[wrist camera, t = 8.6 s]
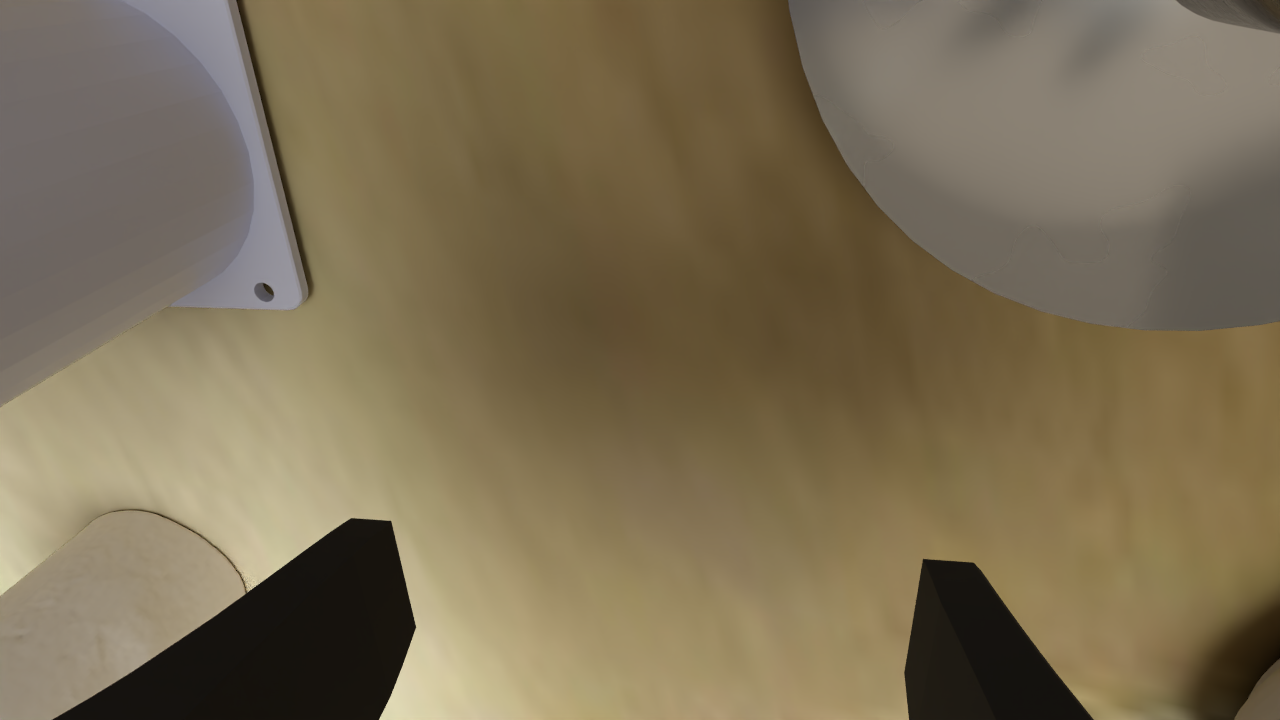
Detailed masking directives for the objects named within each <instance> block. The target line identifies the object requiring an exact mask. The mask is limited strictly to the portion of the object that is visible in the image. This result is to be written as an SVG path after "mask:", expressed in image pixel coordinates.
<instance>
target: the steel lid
mask: <svg viewBox="0 0 1280 720" xmlns="http://www.w3.org/2000/svg"><path fill="white" fill-rule="evenodd" d="M788 3H789V10H790V15H791V19H792V23H793V28H794V32H795V36H796V41H797V45H798V49H799V54H800V58H801V62H802V67H803V70H804V72H805V75H806V78H807V80H808V83H809V85H810V88H811V91H812V93H813V96H814V99H815V101H816V104H817V107H818V109H819V112H820V115H821V117H822V120H823V122H824V123H825V125H826V127H827V129H828V131H829V133H830V134H831V136H832V138H833V140H834V142H835V144H836V145H837V147H838V149H839V151H840V153H841V155H842V156H843V158H844V160H845V162H846V164H847V166H848V167H849V168H850V170H851V171H852V172H853V174H854V175H855V176H856V178H857V179H858V180H859V182H860V183H861V184H862V186H863V187H864V188H865V190H866V191H867V192H868V194H869V195H870V196H871V198H872V199H873V200H874V202H875V203H876V204H877V206H878V207H879V208H880V209H881V210H882V211H883V212H884V213H885V214H886V215H887V216H888V217H889V218H890V219H891V220H892V221H893V222H894V223H895V224H896V225H897V226H898V227H899V228H900V229H901V230H902V231H903V232H904V233H905V234H906V235H907V236H908V237H909V238H910V239H911V240H912V241H914V242H915V243H916V244H918V245H919V246H920V247H922V248H923V249H924V250H926V251H927V252H928V253H930V254H931V255H932V256H934V257H935V258H936V259H938V260H939V261H940V262H942V263H943V264H944V265H946V266H947V267H948V268H950V269H951V270H953V271H955V272H956V273H958V274H960V275H962V276H964V277H965V278H967V279H969V280H971V281H973V282H975V283H976V284H978V285H980V286H982V287H984V288H986V289H987V290H989V291H991V292H993V293H995V294H997V295H1000V296H1002V297H1005V298H1008V299H1010V300H1013V301H1015V302H1018V303H1021V304H1023V305H1026V306H1028V307H1031V308H1034V309H1036V310H1039V311H1042V312H1046V313H1050V314H1054V315H1058V316H1062V317H1066V318H1070V319H1074V320H1078V321H1082V322H1087V323H1091V324H1098V325H1106V326H1115V327H1123V328H1131V329H1139V330H1188V331H1202V330H1212V329H1223V328H1233V327H1243V326H1254V325H1262V324H1267V323H1272V322H1277V321H1280V0H788Z"/></svg>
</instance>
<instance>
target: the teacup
mask: <svg viewBox="0 0 1280 720" xmlns="http://www.w3.org/2000/svg"><path fill="white" fill-rule="evenodd" d="M1234 720H1280V659H1278V660H1277V661H1276V662H1275V663H1274V664H1273V665H1272V666H1271V667H1270V668H1269V669H1268V670H1267V671H1266V672H1265V673H1264V674H1263V676H1262V677H1261V678H1260V680H1259V681H1258V682H1257V684H1256V685H1255V687H1254V689H1253V690H1252V692H1251V694H1250V696H1249V697H1248V700H1247V701H1246V702H1245V703H1244V705H1243V706H1242V707H1241V708H1240V710H1239V711H1238V713H1237V715H1236V717H1235V719H1234Z"/></svg>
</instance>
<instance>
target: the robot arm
mask: <svg viewBox="0 0 1280 720" xmlns="http://www.w3.org/2000/svg"><path fill="white" fill-rule="evenodd" d="M263 283H265V284H267V285H269V286H270V287H271V288H272V290H273V292H274V295H270V294H269V293H268V292H267V291H266V290H265V288H264V287H263ZM307 297H308V286H307V282H306V278H305V274H304V270H303V266H302V262H301V258H300V254H299V250H298V246H297V242H296V238H295V234H294V230H293V226H292V222H291V218H290V214H289V210H288V206H287V202H286V198H285V194H284V190H283V186H282V182H281V178H280V174H279V170H278V166H277V162H276V158H275V154H274V150H273V146H272V142H271V138H270V134H269V130H268V126H267V122H266V118H265V114H264V110H263V106H262V102H261V98H260V94H259V90H258V86H257V82H256V78H255V74H254V70H253V66H252V62H251V58H250V54H249V50H248V46H247V42H246V38H245V34H244V30H243V26H242V22H241V18H240V14H239V10H238V6H237V2H236V0H0V407H1V406H3V405H4V404H6V403H8V402H9V401H11V400H13V399H14V398H16V397H18V396H19V395H21V394H23V393H24V392H26V391H28V390H29V389H31V388H33V387H34V386H36V385H38V384H39V383H41V382H43V381H44V380H46V379H48V378H49V377H51V376H53V375H54V374H56V373H58V372H59V371H61V370H63V369H64V368H66V367H68V366H69V365H71V364H73V363H74V362H76V361H78V360H79V359H81V358H83V357H84V356H86V355H88V354H89V353H91V352H93V351H94V350H96V349H98V348H99V347H101V346H103V345H104V344H106V343H108V342H109V341H111V340H113V339H114V338H116V337H118V336H119V335H121V334H123V333H124V332H126V331H128V330H129V329H131V328H133V327H134V326H136V325H137V324H139V323H141V322H142V321H144V320H146V319H147V318H149V317H151V316H152V315H154V314H156V313H157V312H159V311H161V310H162V309H164V308H166V307H198V308H230V309H262V310H293V309H296V308H297V307H298V306H300V305H301V304H302V303H303V302H305V301H306V299H307ZM415 629H416V625H415V621H414V617H413V612H412V608H411V604H410V600H409V595H408V591H407V587H406V582H405V578H404V574H403V570H402V565H401V561H400V557H399V552H398V548H397V544H396V540H395V535H394V531H393V527H392V522H391V521H383V520H369V519H355V518H351V519H349V520H348V521H346V522H345V523H343V524H342V525H340V526H339V527H337V528H336V529H334V530H333V531H331V532H330V533H329V534H327V535H326V536H324V537H323V538H322V539H320V540H319V541H317V542H316V543H315V544H313V545H312V546H311V547H309V548H308V549H306V550H305V551H304V552H302V553H301V554H300V555H298V556H297V557H296V558H294V559H293V560H291V561H290V562H289V563H287V564H286V565H285V566H283V567H282V568H281V569H279V570H278V571H276V572H275V573H274V574H272V575H271V576H270V577H268V578H267V579H266V580H264V581H263V582H261V583H260V584H259V585H257V586H256V587H254V588H253V589H252V590H250V591H249V592H248V593H246V594H245V595H243V596H242V597H241V598H239V599H238V600H236V601H235V602H234V603H232V604H231V605H230V606H228V607H227V608H225V609H224V610H223V611H221V612H220V613H218V614H217V615H216V616H214V617H213V618H211V619H210V620H208V621H207V622H205V623H204V624H202V625H201V626H199V627H198V628H197V629H195V630H194V631H192V632H191V633H189V634H188V635H186V636H185V637H183V638H182V639H180V640H179V641H177V642H176V643H174V644H173V645H171V646H170V647H168V648H167V649H165V650H164V651H162V652H161V653H159V654H158V655H156V656H155V657H153V658H152V659H150V660H149V661H147V662H146V663H144V664H143V665H141V666H140V667H138V668H137V669H135V670H134V671H132V672H131V673H129V674H128V675H126V676H124V677H123V678H121V679H120V680H118V681H116V682H115V683H113V684H112V685H110V686H108V687H107V688H105V689H103V690H102V691H100V692H98V693H97V694H95V695H94V696H92V697H90V698H89V699H87V700H85V701H83V702H82V703H80V704H78V705H76V706H75V707H73V708H71V709H70V710H68V711H66V712H64V713H63V714H61V715H59V716H58V717H56V718H54V719H52V720H379V718H380V716H381V714H382V712H383V710H384V708H385V706H386V704H387V702H388V700H389V698H390V696H391V694H392V691H393V689H394V686H395V684H396V681H397V678H398V676H399V673H400V671H401V668H402V666H403V663H404V660H405V657H406V654H407V651H408V649H409V646H410V643H411V640H412V637H413V634H414V632H415ZM904 673H905V683H906V693H907V703H908V713H909V720H1093V718H1092V717H1091V716H1090V715H1089V713H1088V712H1087V711H1086V710H1085V708H1084V707H1083V706H1082V705H1081V703H1080V702H1079V701H1078V700H1077V698H1076V697H1075V696H1074V695H1073V693H1072V692H1071V691H1070V690H1069V688H1068V687H1067V686H1066V685H1065V683H1064V682H1063V681H1062V680H1061V679H1060V677H1059V676H1058V675H1057V674H1056V672H1055V671H1054V670H1053V668H1052V667H1051V666H1050V665H1049V663H1048V662H1047V661H1046V659H1045V658H1044V657H1043V655H1042V654H1041V653H1040V652H1039V650H1038V649H1037V648H1036V646H1035V645H1034V643H1033V642H1032V641H1031V639H1030V638H1029V637H1028V635H1027V634H1026V633H1025V631H1024V630H1023V629H1022V627H1021V626H1020V625H1019V623H1018V622H1017V621H1016V619H1015V618H1014V616H1013V615H1012V614H1011V612H1010V611H1009V610H1008V608H1007V607H1006V605H1005V604H1004V603H1003V601H1002V600H1001V598H1000V597H999V596H998V594H997V593H996V591H995V590H994V588H993V587H992V586H991V584H990V583H989V581H988V580H987V578H986V577H985V576H984V574H983V573H982V571H981V570H980V569H979V568H978V567H977V566H976V565H975V564H974V563H970V562H956V561H942V560H928V559H923V563H922V569H921V575H920V581H919V587H918V593H917V599H916V605H915V611H914V618H913V624H912V630H911V636H910V642H909V648H908V654H907V660H906V666H905V672H904Z"/></svg>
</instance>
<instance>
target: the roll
mask: <svg viewBox="0 0 1280 720" xmlns="http://www.w3.org/2000/svg"><path fill="white" fill-rule="evenodd" d="M245 594H246V593H245V588H244V584H243V582H242V580H241V577H240V575H239V574H238V572H237V571H236V570H235V568H234V567H233V566H232V564H231V563H230V562H229V561H228V559H227V558H226V557H225V556H224V555H222V554H221V553H220V552H219V551H218V550H217V549H216V548H215V547H213V546H212V545H210V544H209V543H208V542H207V541H206V540H205V539H203V538H201V537H200V536H199V535H197V534H196V533H194V532H192V531H191V530H188V529H187V528H185V527H182V526H181V525H179V524H177V523H175V522H173V521H171V520H169V519H167V518H164V517H161V516H159V515H157V514H154V513H149V512H144V511H117V512H111V513H108V514H105V515H103V516H100V517H98V518H97V519H95V520H93V521H92V522H91V523H90V524H89V525H88V526H86V527H85V528H84V529H83V530H82V531H80V532H79V533H78V534H77V535H76V536H75V537H73V538H72V539H71V540H69V541H68V542H67V543H66V544H64V545H63V546H62V547H61V548H60V549H58V550H57V551H56V552H54V553H53V554H52V555H51V556H49V557H48V558H47V559H46V560H45V561H43V562H42V563H41V564H40V565H38V566H37V567H36V568H35V569H33V570H32V571H31V572H30V573H28V574H27V575H26V576H25V577H23V578H22V579H21V580H20V581H18V582H17V583H16V584H15V585H13V586H12V587H11V588H10V589H8V590H7V591H6V592H5V593H4V594H2V595H1V596H0V720H52V719H54V718H56V717H58V716H59V715H61V714H63V713H64V712H66V711H68V710H70V709H71V708H73V707H75V706H76V705H78V704H80V703H82V702H83V701H85V700H87V699H89V698H90V697H92V696H94V695H95V694H97V693H98V692H100V691H102V690H103V689H105V688H107V687H108V686H110V685H112V684H113V683H115V682H116V681H118V680H120V679H121V678H123V677H124V676H126V675H128V674H129V673H131V672H132V671H134V670H135V669H137V668H138V667H140V666H141V665H143V664H144V663H146V662H147V661H149V660H150V659H152V658H153V657H155V656H156V655H158V654H159V653H161V652H162V651H164V650H165V649H167V648H168V647H170V646H171V645H173V644H174V643H176V642H177V641H179V640H180V639H182V638H183V637H185V636H186V635H188V634H189V633H191V632H192V631H194V630H195V629H197V628H198V627H199V626H201V625H202V624H204V623H205V622H207V621H208V620H210V619H211V618H213V617H214V616H216V615H217V614H218V613H220V612H221V611H223V610H224V609H225V608H227V607H228V606H230V605H231V604H232V603H234V602H235V601H236V600H238V599H239V598H241V597H242V596H243V595H245Z"/></svg>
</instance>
